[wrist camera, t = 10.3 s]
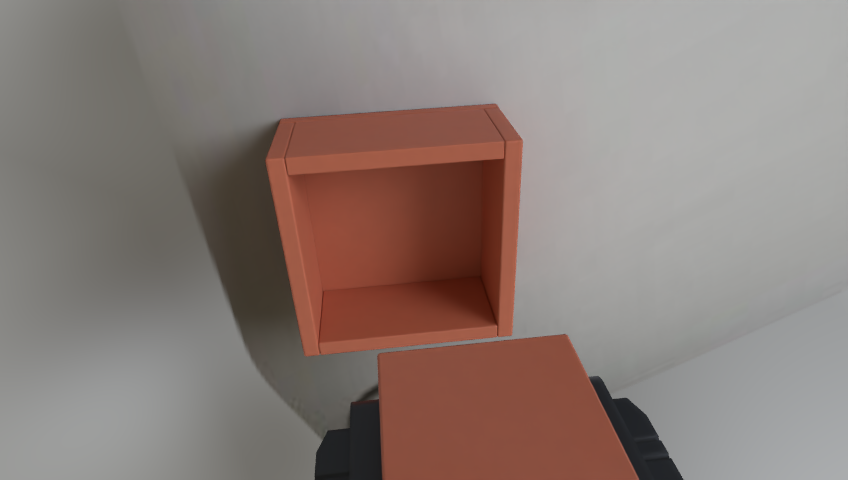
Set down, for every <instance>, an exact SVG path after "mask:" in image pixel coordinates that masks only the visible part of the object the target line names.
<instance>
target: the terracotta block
mask: <svg viewBox="0 0 848 480" xmlns="http://www.w3.org/2000/svg"><path fill="white" fill-rule="evenodd" d="M377 359H378V385H379V410H380V435H381V461H382V480H639V478H638V476H637V474H636V472H635V470H634V468H633V466H632V464H631V462H630V460H629V458H628V456H627V454H626V452H625V450H624V448H623V446H622V444H621V442H620V440H619V438H618V436H617V434H616V432H615V430H614V428H613V426H612V424H611V422H610V420H609V418H608V416H607V414H606V412H605V410H604V408H603V406H602V404H601V402H600V400H599V398H598V396H597V394H596V392H595V390H594V388H593V386H592V384H591V382H590V379H589V377H588V375H587V373H586V371H585V369H584V367H583V365H582V363H581V361H580V359H579V357H578V355H577V353H576V351H575V349H574V347H573V345H572V343H571V341H570V339H569V337H568V335H566V334H562V335H553V336H543V337H533V338H523V339H514V340H504V341H494V342H485V343H475V344H465V345H456V346H446V347H436V348H426V349H417V350H407V351H397V352H388V353H380V354H378V356H377Z"/></svg>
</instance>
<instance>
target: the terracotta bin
mask: <svg viewBox="0 0 848 480" xmlns="http://www.w3.org/2000/svg"><path fill="white" fill-rule="evenodd" d="M522 148H523V140H522V139H521V137H520V136H519V135H518V133H517V132H516V130H515V129H514V128H513V126H512V125H511V124H510V122H509V121H508V120H507V118H506V117H505V116H504V114H503V113H502V111H501V110H500V109H499V107H498V106H497V104H486V105H472V106H458V107H444V108H430V109H416V110H402V111H387V112H373V113H359V114H345V115H331V116H317V117H303V118H289V119H281V120H280V122H279V125H278V128H277V130H276V133H275V136H274V138H273V141H272V144H271V146H270V149H269V152H268V154H267V157H266V160H265V162H266V167H267V172H268V177H269V182H270V187H271V192H272V197H273V202H274V207H275V212H276V217H277V222H278V227H279V232H280V237H281V242H282V247H283V252H284V257H285V262H286V267H287V272H288V276H289V281H290V286H291V291H292V296H293V301H294V306H295V311H296V316H297V321H298V326H299V331H300V336H301V341H302V346H303V351H304V355H305V356H314V355H319V354H321V355H324V354H334V353H344V352H354V351H364V350H374V349H384V348H394V347H404V346H413V345H423V344H433V343H443V342H453V341H463V340H473V339H483V338H493V337H497V336H498V337H502V336H511V335H512V328H513V310H514V292H515V274H516V256H517V238H518V220H519V202H520V184H521V166H522Z"/></svg>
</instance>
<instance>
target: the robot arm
mask: <svg viewBox="0 0 848 480" xmlns="http://www.w3.org/2000/svg"><path fill="white" fill-rule="evenodd" d="M589 379H590V382H591V384H592V386H593V388H594V390H595V392H596V394H597V396H598V398H599V400H600V402H601V404H602V406H603V408H604V410H605V412H606V414H607V416H608V418H609V420H610V422H611V424H612V426H613V428H614V430H615V432H616V434H617V436H618V438H619V440H620V442H621V444H622V446H623V448H624V450H625V452H626V454H627V456H628V458H629V460H630V462H631V464H632V466H633V468H634V470H635V472H636V474H637V476H638V478H639V480H683V478H682V476H681V474H680V473H679V471H678V469H677V468H676V466H675V464H674V462H673V461H672V459H671V458H669V455H668V452H667V450H666V448H665V447H664V445H663V443H662V441H660V440H659V438H658V437H659V436H658V435H657V433H656V431H655V429H654V428H653V426H652V424H651V422H650V421H649V419H648V417H647V416H646V414H644V413H643V412H642V411H641V410H640V409H639V408H638V407H637V406H635V405H634V404H633V403H632V402H631V401H630V400H629V399H627V398H620V399H612V397H611V395H610V394H609V392H608V390H607V388H606V386H605V384H604V382H603V381H602V379H601V378H600V377H599V376H593V377H589ZM315 480H382V461H381V435H380V410H379V399H378V400H369V401H359V402H351V408H350V428H347V429H339V430H330V431H328V432H327V434H326V435H325V437H324V439H323V441H322V443H321V445H320V447H319V449H318V450H317V453H316V465H315Z"/></svg>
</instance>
